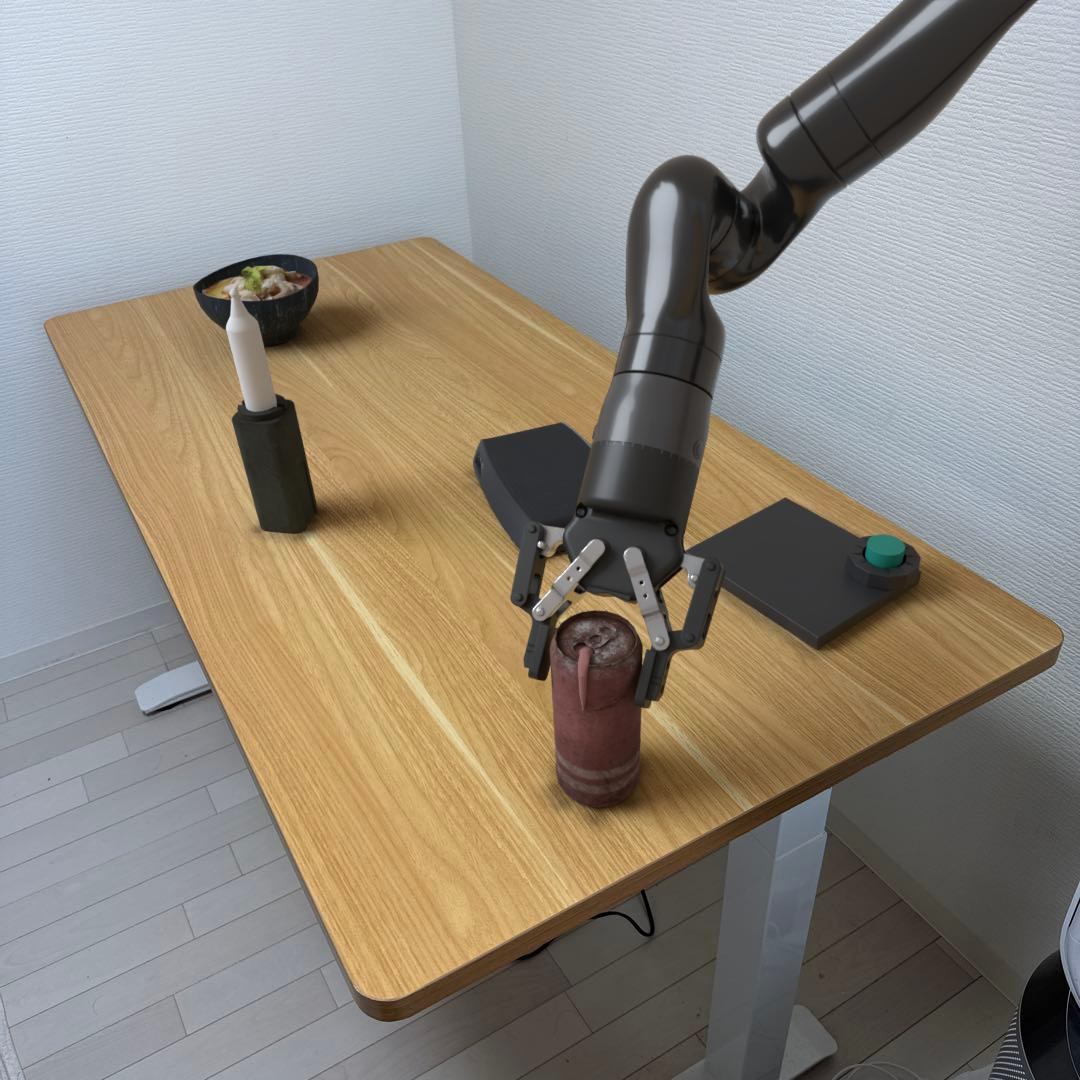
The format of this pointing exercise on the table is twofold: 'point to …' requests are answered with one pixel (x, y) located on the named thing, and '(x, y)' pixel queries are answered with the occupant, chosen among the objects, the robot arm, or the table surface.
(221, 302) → the bowl
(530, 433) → the hard drive
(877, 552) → the button
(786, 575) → the scale
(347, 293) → the table surface
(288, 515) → the candle
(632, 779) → the can
